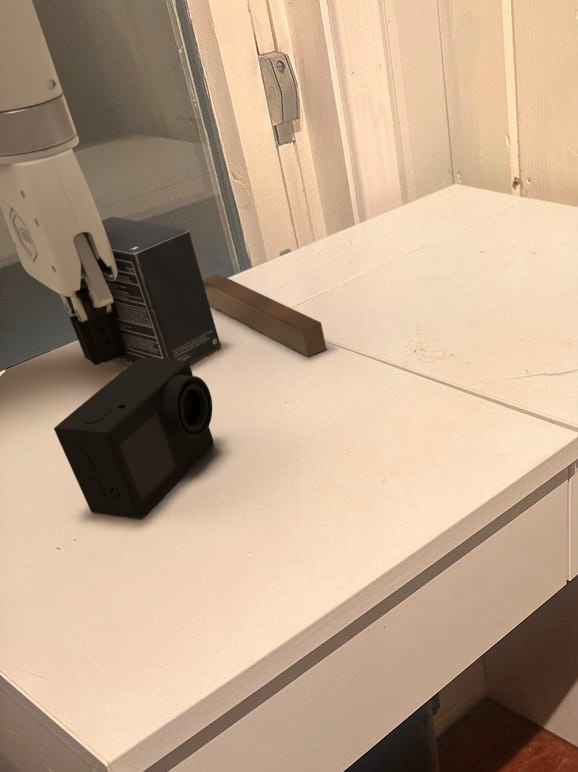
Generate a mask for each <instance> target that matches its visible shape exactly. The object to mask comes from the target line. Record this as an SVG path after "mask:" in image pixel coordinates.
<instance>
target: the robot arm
mask: <svg viewBox="0 0 578 772" xmlns="http://www.w3.org/2000/svg"><path fill="white" fill-rule="evenodd" d="M41 26H42V25H41V23H40V21H39V17H38V15H37V12H36V9H35V6H34V3H33V0H0V209H1V212H2V215H3V218H4V220H5V223H6V225H7V228H8V231H9V234H10V236H11V240H12V242H13V244H14V247H15V250H16V253H17V255H18V258H19V261H20V263H21V266H22V267H23V270H24V271H25V272H26V273H27V274H28V275H29V276H31V277H32V278H34V279H35V280H36V281H38V282H39V283H41V284H43V285H44V286H46V287H47V288H49V289H50V290H52V291H54V292H55V293H57V294H59V297H60V300H61V302H62V303H63V306H64V308H65V310H66V312H67V314H68V315H69V316H70V317H69V320H70V323H71V325H72V328H73V331H74V333H75V335H76V338H77V341H78V344H79V346H80V348H81V351H82V353H83V357H84V358H85V359H86V360H87V361H88V362H90V363H91V364H92V365H94V366H99V365H102V364H104V363H107V362H109V361H112V360H114V359H117V358H119V357H120V356H122V355H124V354H125V353H126V349H125V346H124V343H123V340H122V337H121V335H120V332H119V329H118V326H117V323H116V321H115V318H114V315H113V312H112V307H111V304H112V303H114V300H113V297H112V295H111V292H110V290H109V288H108V285H107V283H106V281H105V279H106V280H108V281H110V282H113V281H115V279H116V277H117V274H118V271H117V266H116V263H115V259H114V256H113V252H112V249H111V246H110V243H109V240H108V238H107V235H106V232H105V229H104V226H103V224H102V218H101V216H100V214H99V211H98V208H97V206H96V203H95V201H94V198H93V196H92V193H91V191H90V188H89V186H88V183H87V180H86V177H85V176H84V173H83V171H82V169H81V167H80V164H79V162H78V159H77V157H76V155H75V152H74V150H73V148H75V147H76V146H77V145H78V144H79V143H80V139H79V135H78V133H77V129H76V127H75V124H74V121H73V118H72V115H71V112H70V109H69V106H68V103H67V100H66V96H65V94H64V92H63V89H62V85H61V82H60V80H59V77H58V74H57V71H56V68H55V65H54V62H53V59H52V55H51V52H50V50H49V47H48V44H47V41H46V38H45V35H44V32H43V29H42V27H41ZM98 262H100V263H101V265H100V264H98Z"/></svg>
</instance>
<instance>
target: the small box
mask: <svg viewBox="0 0 578 772" xmlns="http://www.w3.org/2000/svg"><path fill="white" fill-rule="evenodd" d="M101 221H102V224H103V226H104V229H105V232H106V235H107V238H108V240H109V243H110V246H111V249H112V252H113V256H114V259H115V263H116V266H117V271H118V274H117V277H116V279H115V281H113V282H110V281H108V280H106V279H105V281H106V283H107V285H108V288H109V290H110V292H111V295H112V297H113V300H114V303H112V304H111V307H112V312H113V315H114V318H115V321H116V323H117V326H118V329H119V332H120V335H121V337H122V340H123V343H124V346H125V349H126V353H125V354H124V355H122V356H120V357H118V358H119V359H122V360H126V361H130V362H132V363H134V362H135V361H136V360H137V359H139V358H140V357H148V358H160V359H172V360H185V361H188V362H189V364H191V363H193V362H194V361H197V360H199V359H200V358H202V357H204V356H206V355H208V354H209V353H212V352H213V351H215V350H217V349H218V348H220V347H221V346H222V344H221V342H220V341H221V340H220V338H219V335H218V331H217V328H216V324H215V321H214V317H213V313H212V310H211V306H209V302H208V299H207V295H206V291H205V288H204V284H203V280H204V279H203V277H202V274H201V269H200V266H199V263H198V259H197V254H196V252H195V248H194V245H193V240H192V236H191V233H190V230H187V229H182V228H177V227H172V226H165V225H161V224H154V223H150V222H146V221H145V222H144V221H140V220H135V219H134V220H133V219H127V218H122V217H117V216H110V217H107V218H105V219H103V220H102V219H101ZM98 264H100V265H101V263H100V262H98Z"/></svg>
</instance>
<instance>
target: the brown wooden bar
mask: <svg viewBox="0 0 578 772" xmlns="http://www.w3.org/2000/svg"><path fill="white" fill-rule="evenodd" d="M202 280H203V284H204V288H205V291H206V295H207V299H208V302H209V306H210V308H213V309H215V310H217V311H219V312H221V313H223V314H225V315H226V316H229V317H231V318H232V319H235V320H237V321H238V322H239V323H242V324H244V325H246V326H248V327H250V328H252V329H253V330H256V332H257V331H258V332H259V333H261V334H263V335H265V336H267V337H269V338H271V339H273V340H274V341H276V342H278V343H281V344H283V345H285V346H286V347H288V348H290V349H291V350H293V351H296V352H298V353H300V354H301V355H304V356H306V357H308V358H309V357H312V356H314V355H317V354H318V353H322V352H323V351H325V350H327V345H326V340H325V335H324V331H323V330H324V329H323V325H322V322H321V321H319V320H317V319H315V318H312V317H310V316H308V315H306V314H304V313H302V312H300V311H298V310H296V309H293V308H291V307H289V306H288V305H285V304H283V303H281V302H279V301H277V300H275V299H273V298H271V297H268V296H266V295H264V294H262V293H259V292H258V291H256V290H253V289H251V288H249V287H247V286H245V285H243V284H241V283H238V282H237V281H234V280H233V279H230V278H229V277H226V276H224V275H223V274H220V273H218V274H214V275H212V276H210V277H209V276H208V277H207V278H204V279H202Z"/></svg>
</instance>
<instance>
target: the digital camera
mask: <svg viewBox="0 0 578 772" xmlns="http://www.w3.org/2000/svg"><path fill="white" fill-rule="evenodd" d="M212 416H213V399H212V395H211V391H210V389H209V386H208V385H207V383H206V381H204V380H203V379H202V378H201V377H199V376H197V375H193V371H192V369H191V365H190V363H189V362H188V361H185V360H172V359H160V358H148V357H140V358H139V359H137V360H136V361H135V362H132V363H131V364H130V365H128V366H127V367H126V368H124V370H122V371H121V372H120V373H118V374H117V375H116V376H115V377H113V378H112V379H111V380H110V381H108V383H106V384H105V385H103V386H102V387H101V388H100V389H98V391H96V392H95V393H94V394H93V395H92V396H90V397H89V398H88V399H86V401H84V402H83V403H82V404H81V405H80V406H78V407H77V408H76V409H75V410H73V411H72V412H71V413H70V414H69V415H68V416H66V417H65V418H64V419H63V420H61V421H60V422H59V423H58V424H57V425H55V426H54V428H53V430H54V432H55V435H56V437H57V439H58V441H59V444H60V447H61V448H62V450H63V453H64V455H65V457H66V459H67V461H68V464H69V467H70V469H71V471H72V473H73V475H74V477H75V480H76V481H77V484H78V486H79V488H80V491H81V493H82V496H83V497H84V500H85V501H86V504H87V507H88V508H89V510H90V512H91V513H96V514H102V515H111V516H118V517H125V518H132V519H142V518H143V517H144V516H145V515H146V514H147V513H148V512H149V511H151V509H152V508H153V507H154V506H155V505H156V504H157V503H158V502H159V501H160V500H161V499H162V498H163V497H164V496H165V495H166V494H167V493H168V492H169V491H170V490H171V489H172V487H174V486H175V485H176V483H178V482H179V481H180V479H181V478H182V477H183V476H184V475H185V474H186V473H187V472H188V471H189V470H190V469H191V468H192V467H193V466H194V465H195V464H196V463H197V461H199V460H200V459H201V457H202V456H204V455H205V453H206V452H207V451H208V450H209V449H210V448H212V446H213V445H214V444H215V441H214V438H213V435H212V431H211V429H210V424H211V421H212Z"/></svg>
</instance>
